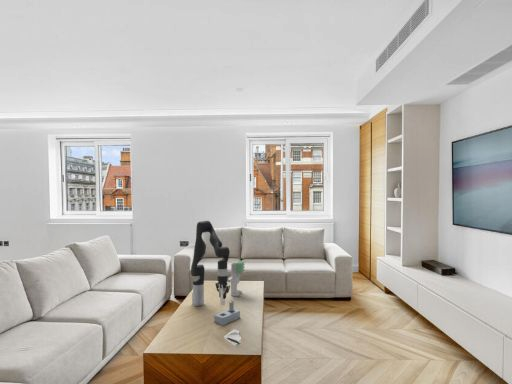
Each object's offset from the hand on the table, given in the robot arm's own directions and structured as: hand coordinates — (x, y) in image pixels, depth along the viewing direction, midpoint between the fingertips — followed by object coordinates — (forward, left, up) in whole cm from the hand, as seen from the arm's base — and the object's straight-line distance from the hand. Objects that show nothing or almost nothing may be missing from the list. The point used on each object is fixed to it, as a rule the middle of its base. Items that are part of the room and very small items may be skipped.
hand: (222, 297), depth 234 cm
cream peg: (0, 0, -5) cm, 5 cm away
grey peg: (0, +9, -17) cm, 19 cm away
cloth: (+24, -13, -18) cm, 33 cm away
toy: (-34, +52, -17) cm, 65 cm away
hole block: (0, +5, -17) cm, 18 cm away
